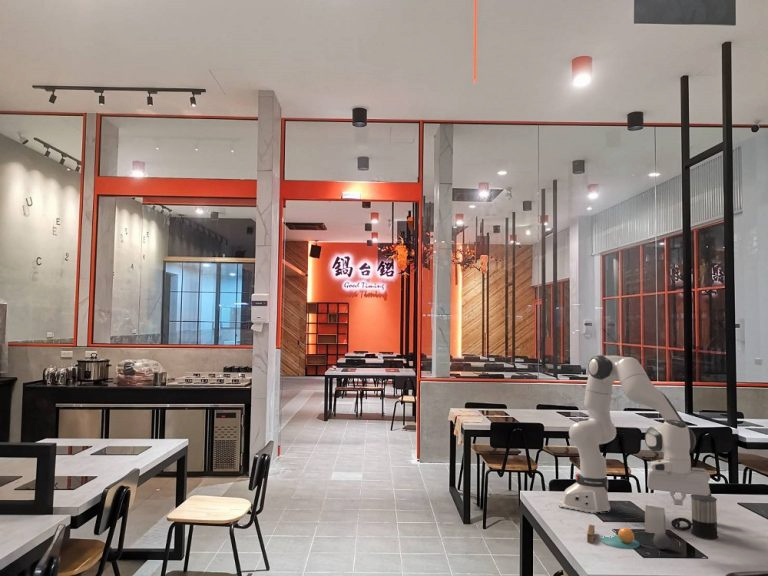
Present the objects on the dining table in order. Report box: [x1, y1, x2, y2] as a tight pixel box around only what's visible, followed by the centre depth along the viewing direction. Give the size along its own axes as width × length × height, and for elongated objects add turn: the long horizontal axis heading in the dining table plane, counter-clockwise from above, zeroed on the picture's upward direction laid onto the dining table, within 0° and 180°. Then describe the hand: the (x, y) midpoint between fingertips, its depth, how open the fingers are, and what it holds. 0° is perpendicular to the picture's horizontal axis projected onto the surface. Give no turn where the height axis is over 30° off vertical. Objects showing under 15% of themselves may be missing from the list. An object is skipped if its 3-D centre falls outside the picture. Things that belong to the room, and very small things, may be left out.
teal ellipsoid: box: [599, 534, 641, 550], centre depth 212 cm, size 14×14×1 cm
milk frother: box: [670, 494, 719, 540], centre depth 225 cm, size 14×16×15 cm
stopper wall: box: [586, 524, 596, 544], centre depth 216 cm, size 2×12×3 cm, turn 157°
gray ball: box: [652, 533, 671, 550], centre depth 206 cm, size 6×6×6 cm
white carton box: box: [644, 504, 667, 535], centre depth 223 cm, size 4×7×10 cm, turn 53°
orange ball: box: [617, 526, 635, 543], centre depth 211 cm, size 6×6×6 cm
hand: (678, 504), depth 205 cm, fingers closed
